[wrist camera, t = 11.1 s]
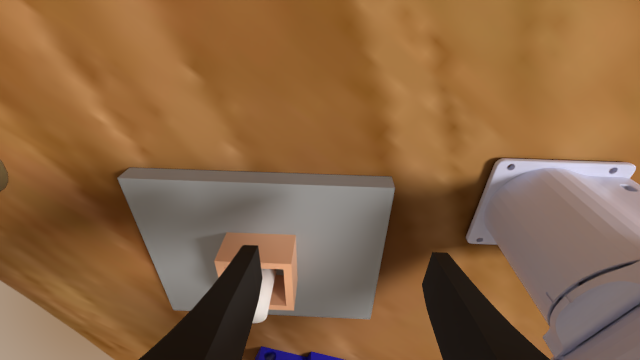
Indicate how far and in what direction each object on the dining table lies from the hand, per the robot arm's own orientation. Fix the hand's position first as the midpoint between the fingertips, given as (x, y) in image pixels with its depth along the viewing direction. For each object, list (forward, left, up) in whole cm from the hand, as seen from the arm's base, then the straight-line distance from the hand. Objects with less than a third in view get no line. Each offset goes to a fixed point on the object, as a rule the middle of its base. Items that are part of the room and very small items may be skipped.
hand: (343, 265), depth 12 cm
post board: (+6, +10, -10) cm, 16 cm away
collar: (+6, +10, -9) cm, 14 cm away
